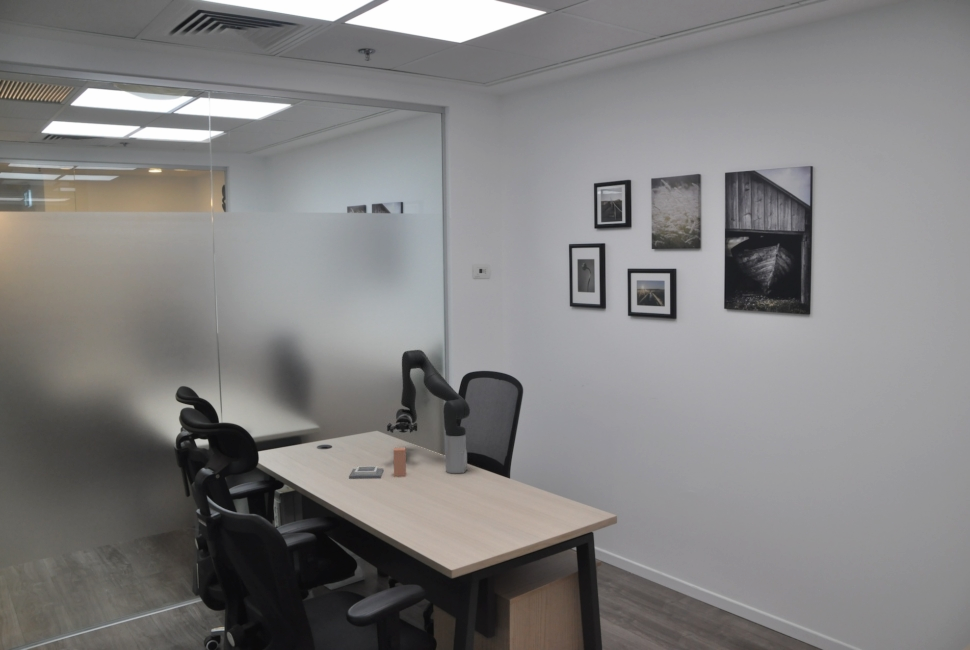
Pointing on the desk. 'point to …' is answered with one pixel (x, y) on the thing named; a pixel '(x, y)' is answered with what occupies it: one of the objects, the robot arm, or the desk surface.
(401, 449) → the column
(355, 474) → the baseplate
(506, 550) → the desk surface
